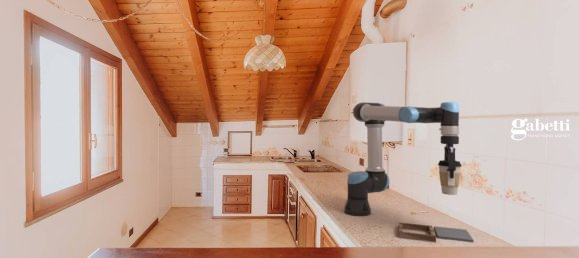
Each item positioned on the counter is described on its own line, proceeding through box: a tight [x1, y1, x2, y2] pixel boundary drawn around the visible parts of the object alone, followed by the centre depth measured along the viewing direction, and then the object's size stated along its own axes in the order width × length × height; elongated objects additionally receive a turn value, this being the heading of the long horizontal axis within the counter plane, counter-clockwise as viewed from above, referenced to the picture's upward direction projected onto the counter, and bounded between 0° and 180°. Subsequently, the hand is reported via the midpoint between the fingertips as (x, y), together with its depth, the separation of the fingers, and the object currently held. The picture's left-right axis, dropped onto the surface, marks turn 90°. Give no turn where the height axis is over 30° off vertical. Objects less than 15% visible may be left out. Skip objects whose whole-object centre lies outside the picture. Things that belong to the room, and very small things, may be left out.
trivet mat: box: [433, 226, 474, 243], centre depth 140 cm, size 14×14×1 cm
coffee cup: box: [437, 159, 463, 196], centre depth 140 cm, size 10×10×15 cm
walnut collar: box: [398, 222, 437, 243], centre depth 141 cm, size 15×15×2 cm
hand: (449, 183), depth 140 cm, fingers closed on coffee cup, 10 cm apart
